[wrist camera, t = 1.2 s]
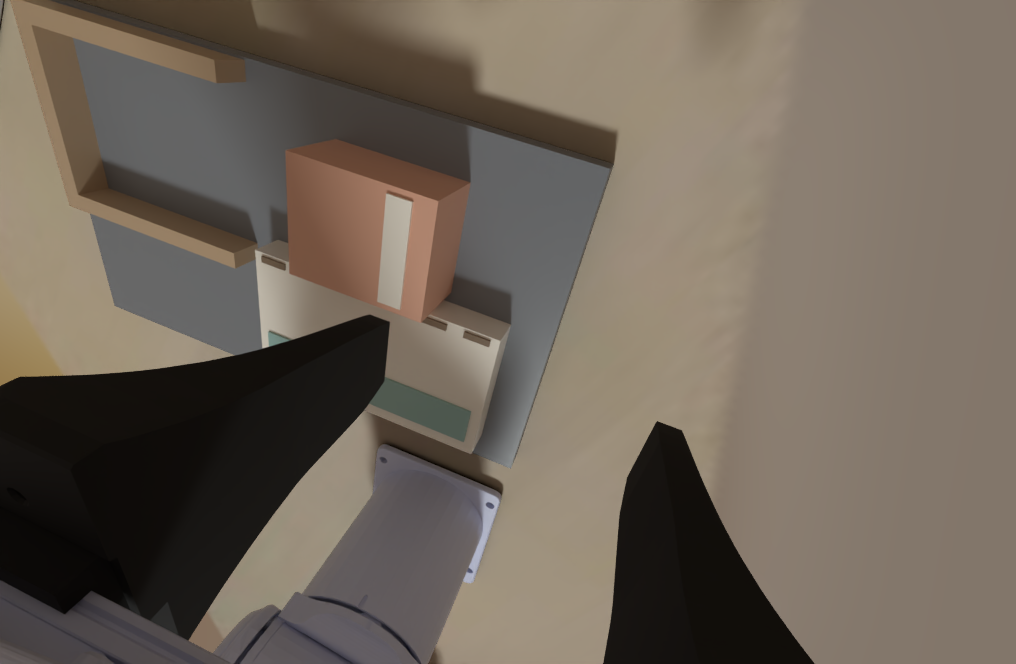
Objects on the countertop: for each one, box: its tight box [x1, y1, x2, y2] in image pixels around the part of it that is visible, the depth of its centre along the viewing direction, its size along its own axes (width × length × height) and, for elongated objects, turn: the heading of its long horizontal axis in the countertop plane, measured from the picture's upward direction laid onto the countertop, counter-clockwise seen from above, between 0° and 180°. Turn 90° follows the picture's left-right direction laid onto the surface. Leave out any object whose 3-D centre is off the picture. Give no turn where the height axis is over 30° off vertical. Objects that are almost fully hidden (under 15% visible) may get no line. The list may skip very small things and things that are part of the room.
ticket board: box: [10, 0, 614, 468], centre depth 23 cm, size 16×26×3 cm, turn 77°
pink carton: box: [285, 139, 471, 323], centre depth 19 cm, size 5×6×3 cm
